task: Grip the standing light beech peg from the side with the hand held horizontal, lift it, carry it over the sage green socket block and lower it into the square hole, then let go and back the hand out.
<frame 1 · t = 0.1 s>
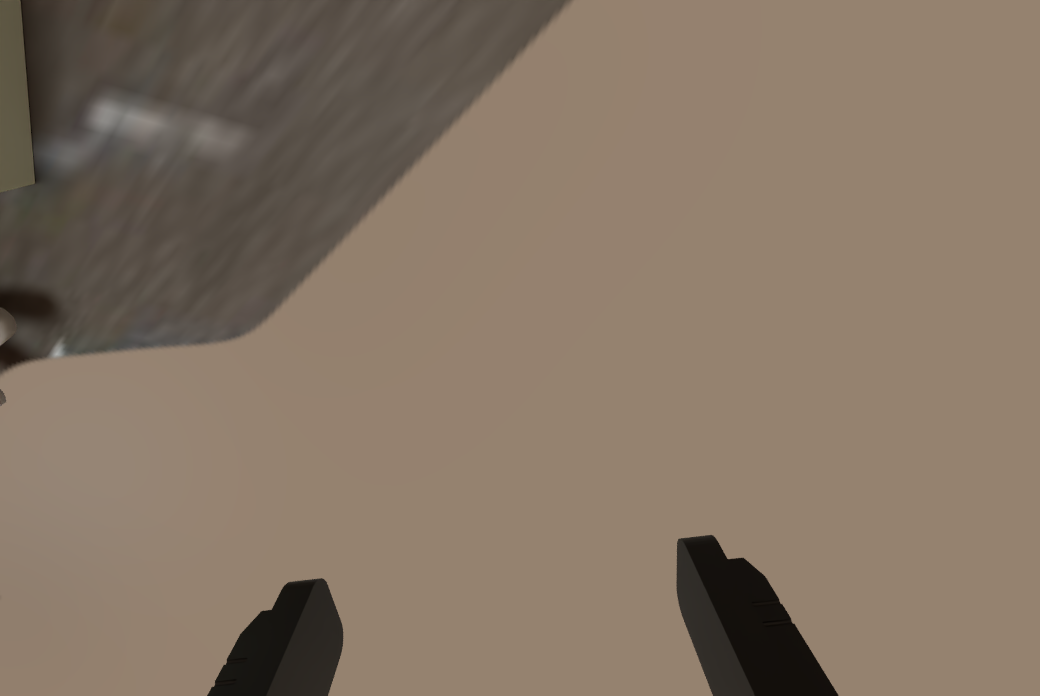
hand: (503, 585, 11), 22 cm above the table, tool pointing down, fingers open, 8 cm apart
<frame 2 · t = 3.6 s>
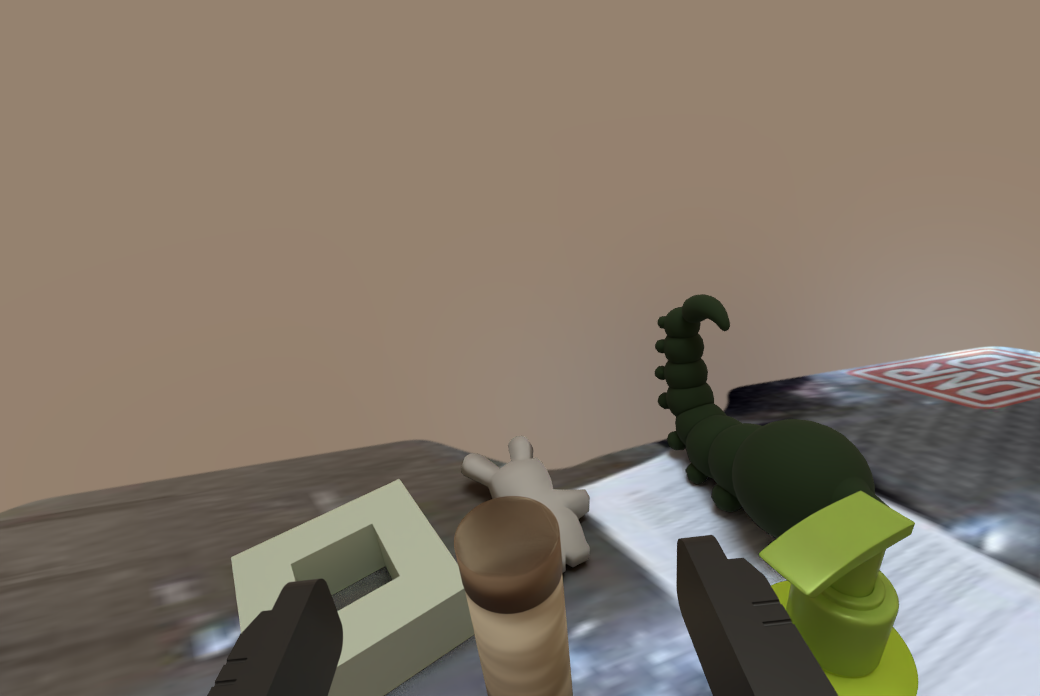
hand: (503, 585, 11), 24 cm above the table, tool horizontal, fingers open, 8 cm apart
bunny figurine: (529, 520, 45), on the table
toy figurine: (744, 501, 45), on the table
socket block: (360, 614, 38), on the table
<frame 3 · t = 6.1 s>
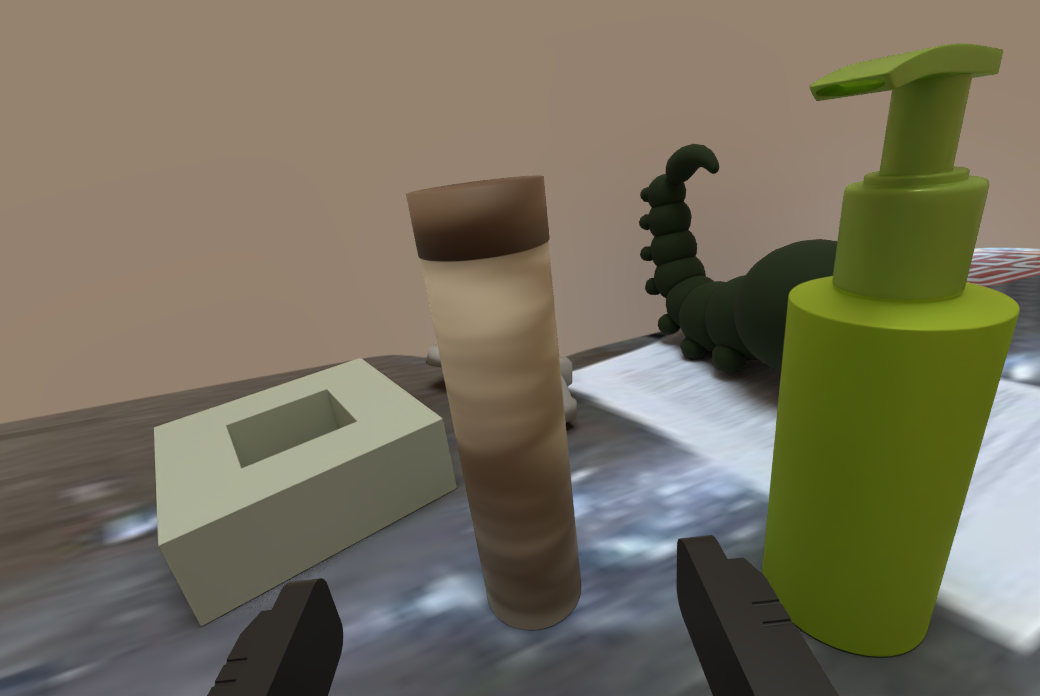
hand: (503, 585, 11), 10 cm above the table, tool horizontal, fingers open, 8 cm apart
soap dispenser: (830, 599, 20), on the table
bunny figurine: (505, 403, 40), on the table
toy figurine: (746, 368, 41), on the table
socket block: (312, 488, 32), on the table
peg: (533, 586, 23), on the table
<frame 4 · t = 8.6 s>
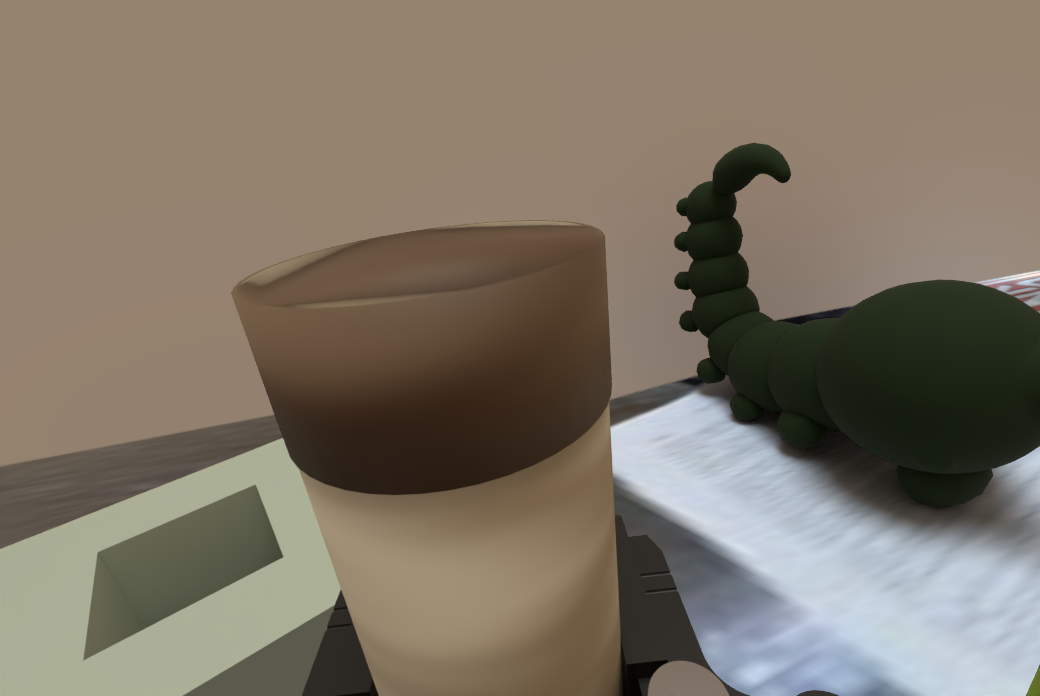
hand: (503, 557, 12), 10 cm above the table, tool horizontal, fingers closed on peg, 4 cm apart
toy figurine: (820, 437, 31), on the table
socket block: (228, 636, 22), on the table
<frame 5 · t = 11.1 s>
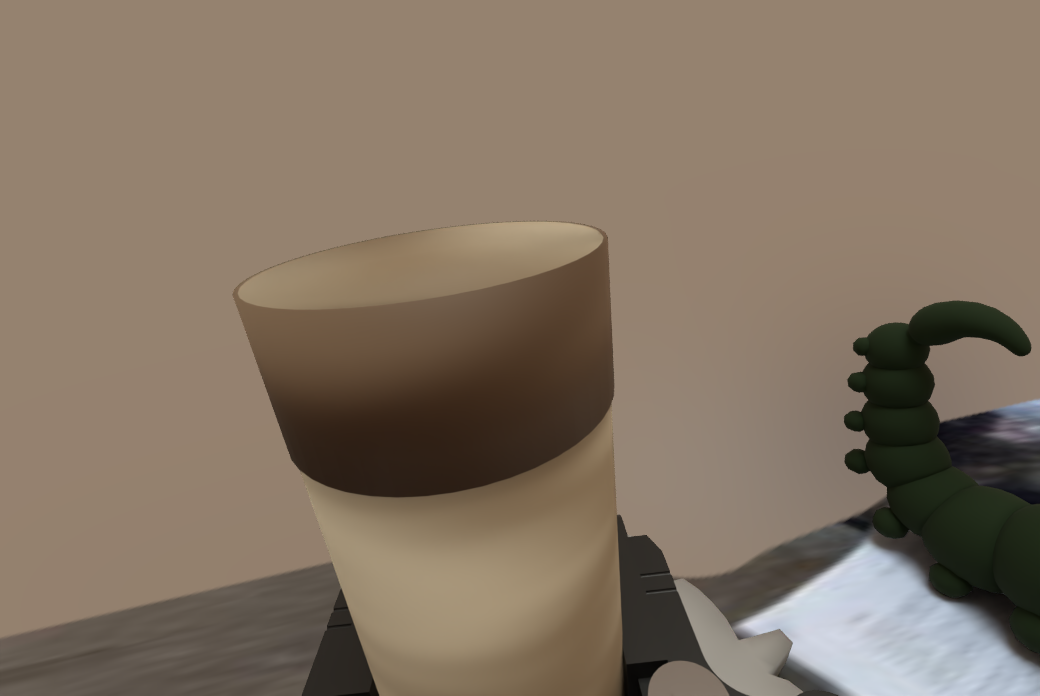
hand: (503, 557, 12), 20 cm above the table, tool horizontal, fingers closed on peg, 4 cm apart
bunny figurine: (681, 687, 27), on the table
when the fingers open (11 cm above the table, at t = 14.0 s): peg drops 1 cm, resting in socket block.
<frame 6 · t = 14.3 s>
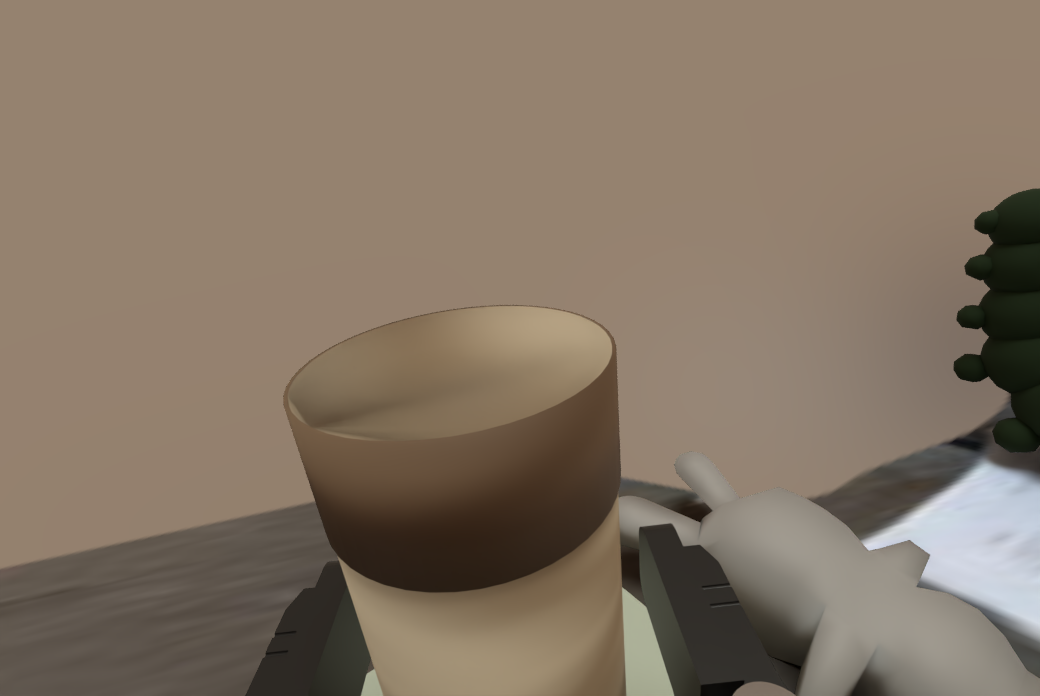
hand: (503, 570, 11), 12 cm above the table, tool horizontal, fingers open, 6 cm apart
bunny figurine: (783, 622, 22), on the table
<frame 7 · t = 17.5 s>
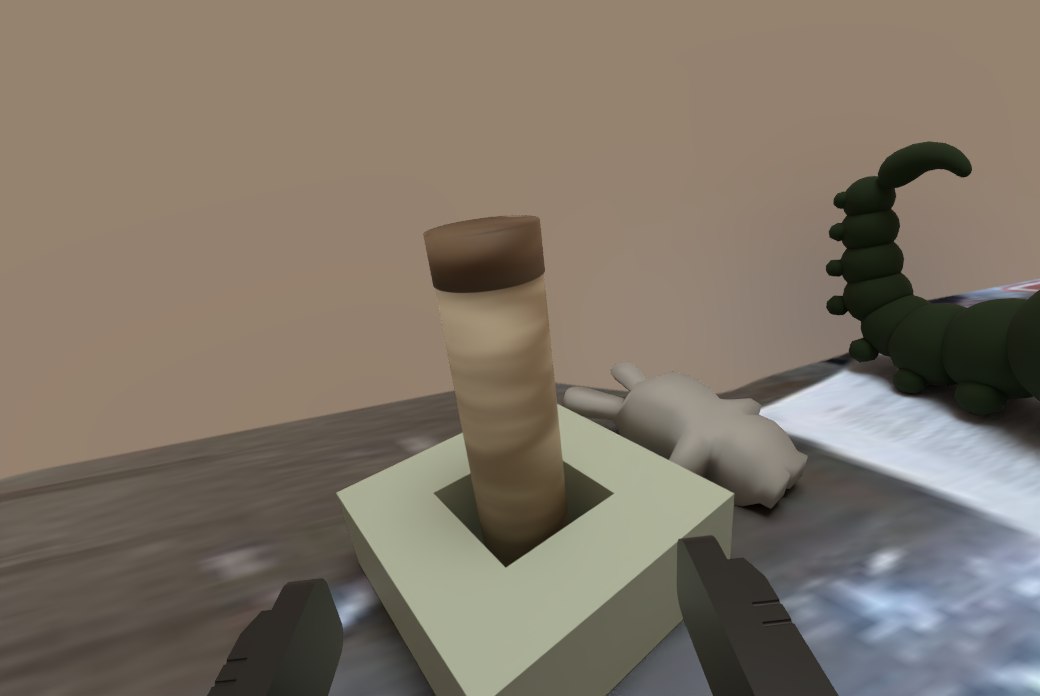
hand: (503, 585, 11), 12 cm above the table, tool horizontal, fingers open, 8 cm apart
bunny figurine: (675, 456, 33), on the table
toy figurine: (986, 407, 34), on the table
socket block: (531, 568, 26), on the table
peg: (531, 570, 25), resting in socket block
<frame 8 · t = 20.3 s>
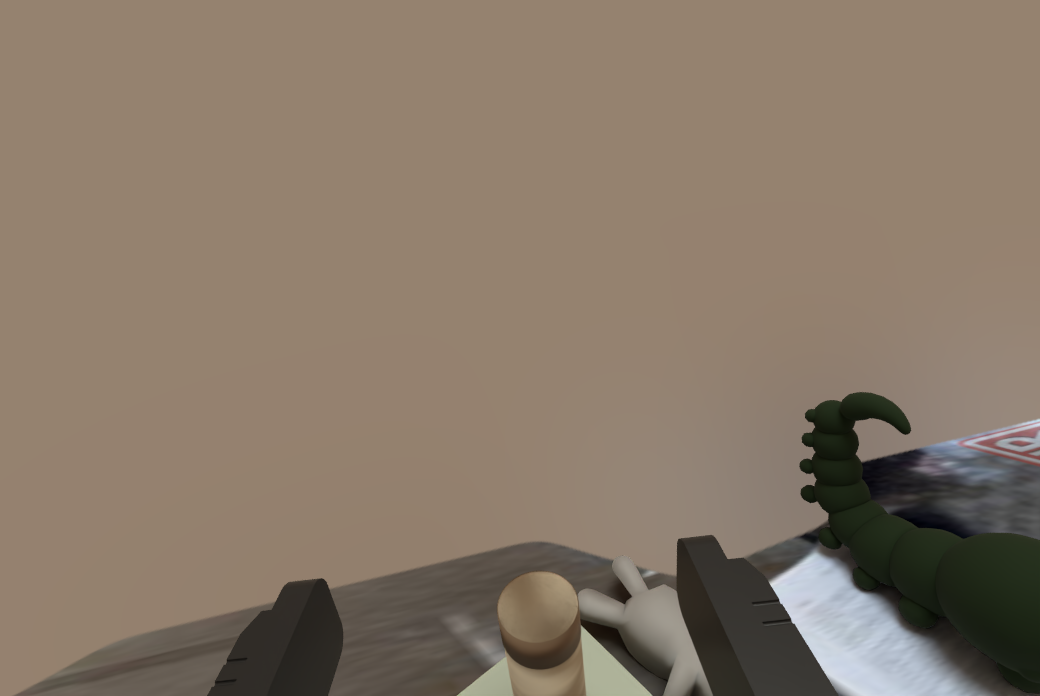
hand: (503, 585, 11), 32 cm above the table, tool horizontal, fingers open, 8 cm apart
bunny figurine: (667, 657, 41), on the table
toy figurine: (926, 609, 42), on the table
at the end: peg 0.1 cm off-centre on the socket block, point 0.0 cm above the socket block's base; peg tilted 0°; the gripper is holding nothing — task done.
